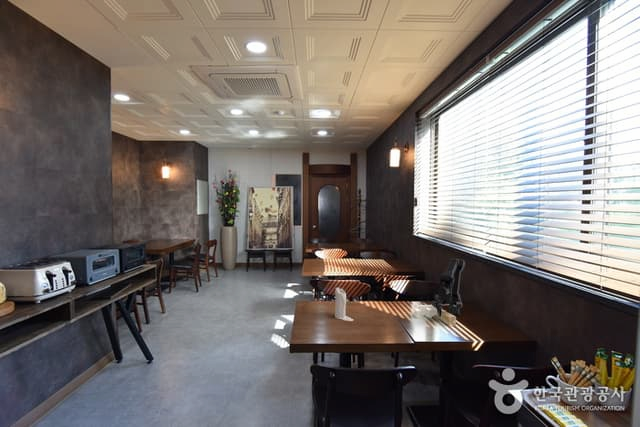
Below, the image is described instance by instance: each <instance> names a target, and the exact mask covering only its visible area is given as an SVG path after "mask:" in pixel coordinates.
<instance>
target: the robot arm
mask: <svg viewBox="0 0 640 427" xmlns="http://www.w3.org/2000/svg"><path fill="white" fill-rule="evenodd" d="M465 266H466V261H465V260H464V259H458V258H451V259H450V263H449V265H448V267H447V270H446V271H444V272H443V273H442V274H441V276H440V280H439V282H438V285H439V286H440V287H439V288H438V289H437V294H434V300H433V301H431V305H432V306H434V307H435V308H436V309H437V312H438V315H439V317H441V312H442V309H443V307H442V306H449V307H448V311H447V312H448V313H450V314H451V315H453V316H455V317H460V316H462V314H461V308H463V302H462V299H461V295H460V293H459V291H460V284H461V283H460V282H461V273H462V272H463V270H464V269H465Z"/></svg>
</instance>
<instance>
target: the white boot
mask: <svg viewBox="0 0 640 427" xmlns="http://www.w3.org/2000/svg"><path fill="white" fill-rule="evenodd" d="M334 290H335V292H334V294H335V304H334V306H335V307H334V318H335V319H338V320H341V319H342V320H341V321H346V322H347V321H349V322H353V321H354V319H353V318H351V316H350V317H349V316H347V315H346V307H347V306H346V304H347V294H346V291H344V289H343V288H340V287H335V289H334Z"/></svg>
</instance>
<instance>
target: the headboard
mask: <svg viewBox="0 0 640 427" xmlns="http://www.w3.org/2000/svg"><path fill="white" fill-rule="evenodd" d="M423 316H424V317H426V318H430V319H431V318H433V316H437V309H436V308H435V307H434V306H432V304H422V305H421V304H420V305H418V303H417V302H416V303H414V307H413V317H414V318H416V319H421V317H423Z"/></svg>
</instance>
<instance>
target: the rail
mask: <svg viewBox="0 0 640 427" xmlns="http://www.w3.org/2000/svg"><path fill="white" fill-rule="evenodd" d="M448 312H449V311H447V310H444V309H443V308H442V312H441V317H439V315H438V312H437V315H436V319H438V320H440V321H441V322H443V323H445V324H446V325H447V326H449V327H453V326H456V325H457V316H453V315H451V314H450V313H448Z"/></svg>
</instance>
